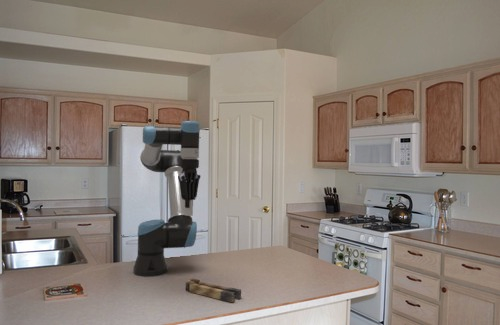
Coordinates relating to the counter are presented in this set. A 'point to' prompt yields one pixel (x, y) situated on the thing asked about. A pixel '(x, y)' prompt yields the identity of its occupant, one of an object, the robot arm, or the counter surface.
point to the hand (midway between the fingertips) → (188, 215)
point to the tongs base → (236, 291)
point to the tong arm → (211, 292)
